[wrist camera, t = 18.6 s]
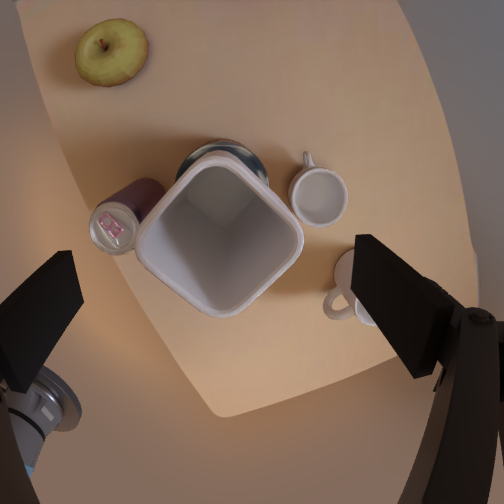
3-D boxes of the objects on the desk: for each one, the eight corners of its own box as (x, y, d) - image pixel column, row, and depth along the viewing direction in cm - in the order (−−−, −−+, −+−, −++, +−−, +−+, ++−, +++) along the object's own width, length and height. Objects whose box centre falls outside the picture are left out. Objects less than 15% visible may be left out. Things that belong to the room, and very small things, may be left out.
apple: (134, 15, 33) (118, -4, 26) (166, 63, 37) (153, 49, 29) (79, 55, 35) (54, 45, 27) (108, 103, 38) (85, 99, 31)
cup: (167, 193, 30) (120, 248, 16) (220, 136, 28) (214, 140, 14) (223, 242, 32) (223, 329, 18) (276, 189, 30) (318, 241, 16)
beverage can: (147, 168, 42) (112, 187, 28) (175, 199, 44) (153, 231, 30) (119, 197, 43) (76, 228, 29) (147, 226, 45) (116, 268, 31)
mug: (326, 312, 53) (345, 349, 43) (303, 276, 50) (320, 311, 41) (385, 274, 51) (414, 304, 42) (367, 236, 48) (397, 261, 39)
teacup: (339, 209, 47) (352, 219, 42) (290, 222, 47) (298, 234, 42) (325, 143, 43) (338, 145, 38) (273, 156, 43) (280, 159, 38)
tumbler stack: (191, 205, 45) (177, 239, 31) (188, 140, 41) (170, 145, 28) (257, 202, 45) (270, 234, 32) (255, 137, 42) (269, 140, 29)
